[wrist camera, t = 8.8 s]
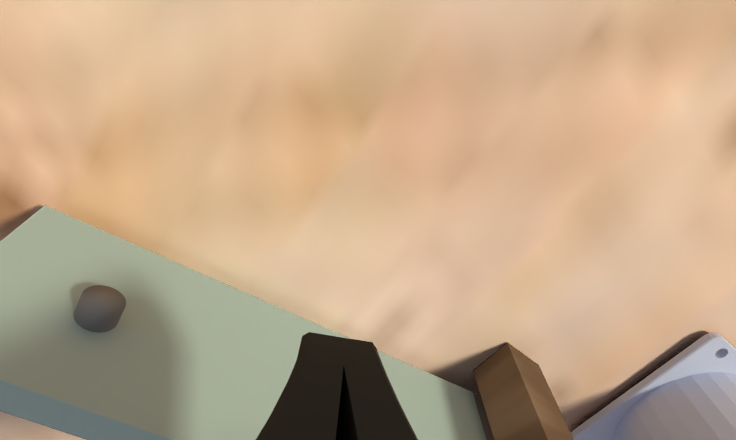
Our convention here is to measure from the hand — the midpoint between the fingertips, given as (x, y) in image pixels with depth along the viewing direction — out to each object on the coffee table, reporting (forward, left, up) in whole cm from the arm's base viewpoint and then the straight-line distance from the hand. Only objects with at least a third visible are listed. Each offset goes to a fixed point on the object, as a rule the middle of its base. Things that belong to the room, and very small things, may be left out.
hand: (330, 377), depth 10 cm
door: (-2, +6, -9) cm, 11 cm away
